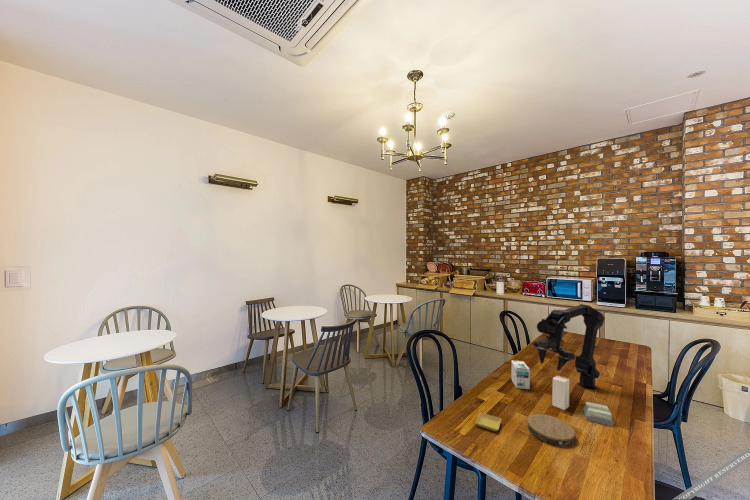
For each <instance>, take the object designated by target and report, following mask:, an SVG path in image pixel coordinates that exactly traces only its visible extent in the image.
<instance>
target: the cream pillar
mask: <svg viewBox="0 0 750 500" xmlns="http://www.w3.org/2000/svg"><path fill="white" fill-rule="evenodd" d="M551 395H552V399H551V400H552V401H551V402H552V403H551V405H552V406H554V407H555V408H558V409H561V410H563V411H566V409H568V408H569V407H570V379H569V378H566V377H563V376H561V375H556V376H554V377H552V394H551Z"/></svg>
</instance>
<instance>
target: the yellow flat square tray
mask: <svg viewBox="0 0 750 500" xmlns="http://www.w3.org/2000/svg"><path fill="white" fill-rule="evenodd" d="M501 423H502V418H500V417H497V416H494V415H491V414H487V413H484V412H479V414H478V416H477V418H476V421H475V424H476V425H477V426H478V427H480V428H483V429H487V430H489V431H493V432H497V431H499V430H500V425H501Z"/></svg>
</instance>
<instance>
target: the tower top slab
mask: <svg viewBox="0 0 750 500" xmlns="http://www.w3.org/2000/svg"><path fill="white" fill-rule="evenodd" d="M585 406H586V409H587V412H588V415H589V416H592V417H597V418H601V419H605V420H610V421H611V418H612V413H611V411H610V409H609V407H608V406H607V405H604V404H599V403H594V402H589V401H585ZM612 419H613V418H612Z"/></svg>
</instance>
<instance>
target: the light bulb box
mask: <svg viewBox="0 0 750 500" xmlns="http://www.w3.org/2000/svg"><path fill="white" fill-rule="evenodd" d="M510 369H511V372H510V373H511V378H510V379H511V381H512V383H513V384H514V387H515V388H516V389H521V390H530V389H531V379H530V378H531V369H530V367H529V366H528V365H527V364H526V363H525V361H521V360H511V368H510Z"/></svg>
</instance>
